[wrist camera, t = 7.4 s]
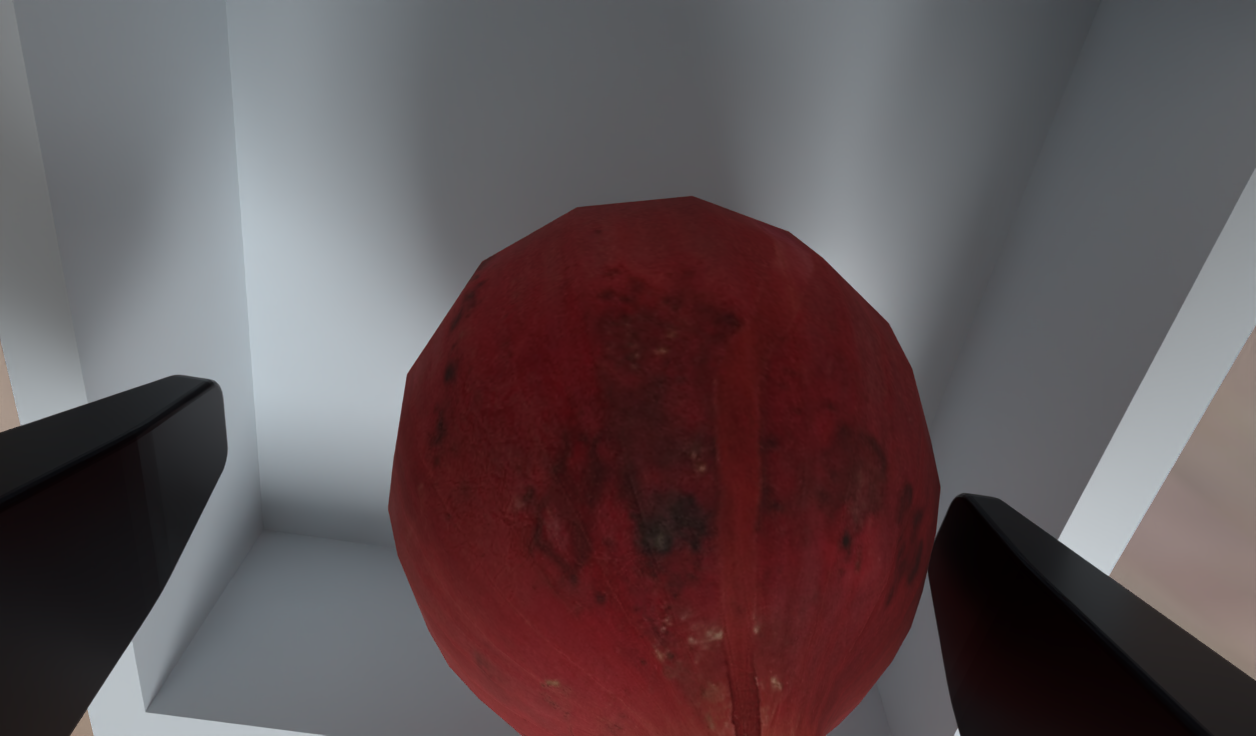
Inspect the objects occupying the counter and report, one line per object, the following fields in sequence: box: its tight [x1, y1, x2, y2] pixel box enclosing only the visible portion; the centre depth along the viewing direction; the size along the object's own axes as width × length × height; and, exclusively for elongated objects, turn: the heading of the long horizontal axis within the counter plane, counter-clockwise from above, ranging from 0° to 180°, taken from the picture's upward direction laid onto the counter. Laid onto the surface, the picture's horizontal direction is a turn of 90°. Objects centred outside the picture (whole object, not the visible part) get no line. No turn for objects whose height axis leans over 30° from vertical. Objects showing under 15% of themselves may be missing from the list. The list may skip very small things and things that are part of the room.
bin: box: [0, 0, 1256, 736], centre depth 11 cm, size 13×13×4 cm
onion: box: [388, 196, 941, 736], centre depth 9 cm, size 6×6×8 cm
